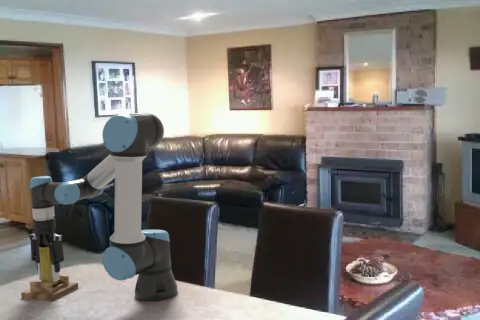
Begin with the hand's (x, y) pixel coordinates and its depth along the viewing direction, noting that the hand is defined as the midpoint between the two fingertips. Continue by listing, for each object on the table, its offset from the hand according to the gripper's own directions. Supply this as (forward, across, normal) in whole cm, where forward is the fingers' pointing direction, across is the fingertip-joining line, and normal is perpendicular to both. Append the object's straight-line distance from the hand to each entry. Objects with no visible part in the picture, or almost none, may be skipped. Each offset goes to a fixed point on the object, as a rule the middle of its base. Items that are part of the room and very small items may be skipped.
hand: (49, 279), depth 187 cm
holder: (+5, 0, 0) cm, 5 cm away
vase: (+2, 0, 0) cm, 2 cm away
